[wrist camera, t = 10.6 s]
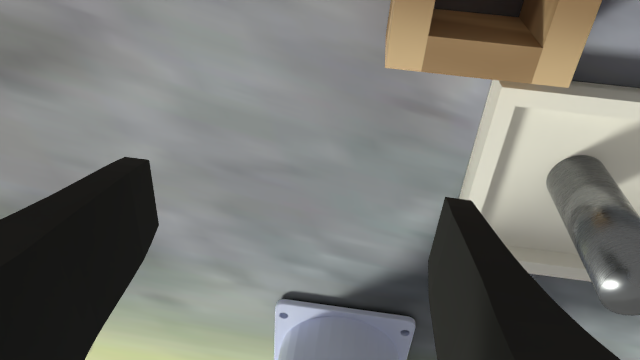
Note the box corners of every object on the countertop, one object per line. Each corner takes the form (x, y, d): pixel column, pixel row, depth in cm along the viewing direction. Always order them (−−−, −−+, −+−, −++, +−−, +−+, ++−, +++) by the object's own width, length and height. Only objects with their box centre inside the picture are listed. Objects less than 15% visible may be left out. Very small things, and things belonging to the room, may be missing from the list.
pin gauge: (596, 202, 22) (665, 318, 16) (540, 200, 22) (590, 312, 17) (613, 156, 20) (694, 265, 15) (553, 153, 21) (611, 260, 15)
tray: (630, 266, 24) (643, 288, 23) (446, 242, 25) (449, 262, 23) (729, 98, 19) (752, 115, 18) (494, 72, 19) (501, 87, 18)
